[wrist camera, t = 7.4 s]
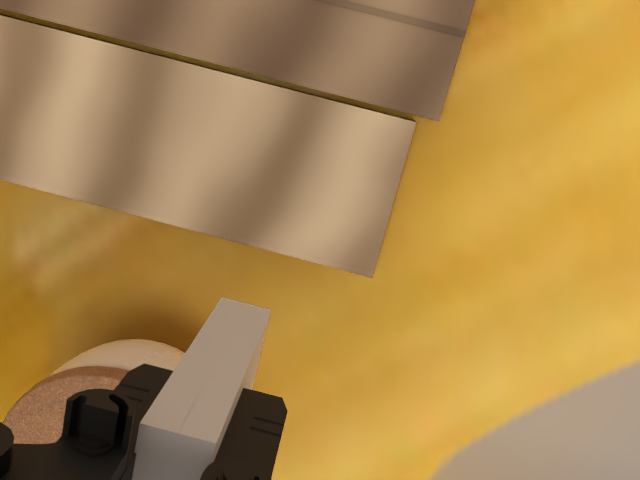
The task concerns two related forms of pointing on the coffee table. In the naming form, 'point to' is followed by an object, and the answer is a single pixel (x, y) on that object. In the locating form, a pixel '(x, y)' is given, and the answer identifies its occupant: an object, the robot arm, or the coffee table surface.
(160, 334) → the coffee table surface
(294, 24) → the laid board
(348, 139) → the plank
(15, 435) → the lidded jar
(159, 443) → the robot arm
